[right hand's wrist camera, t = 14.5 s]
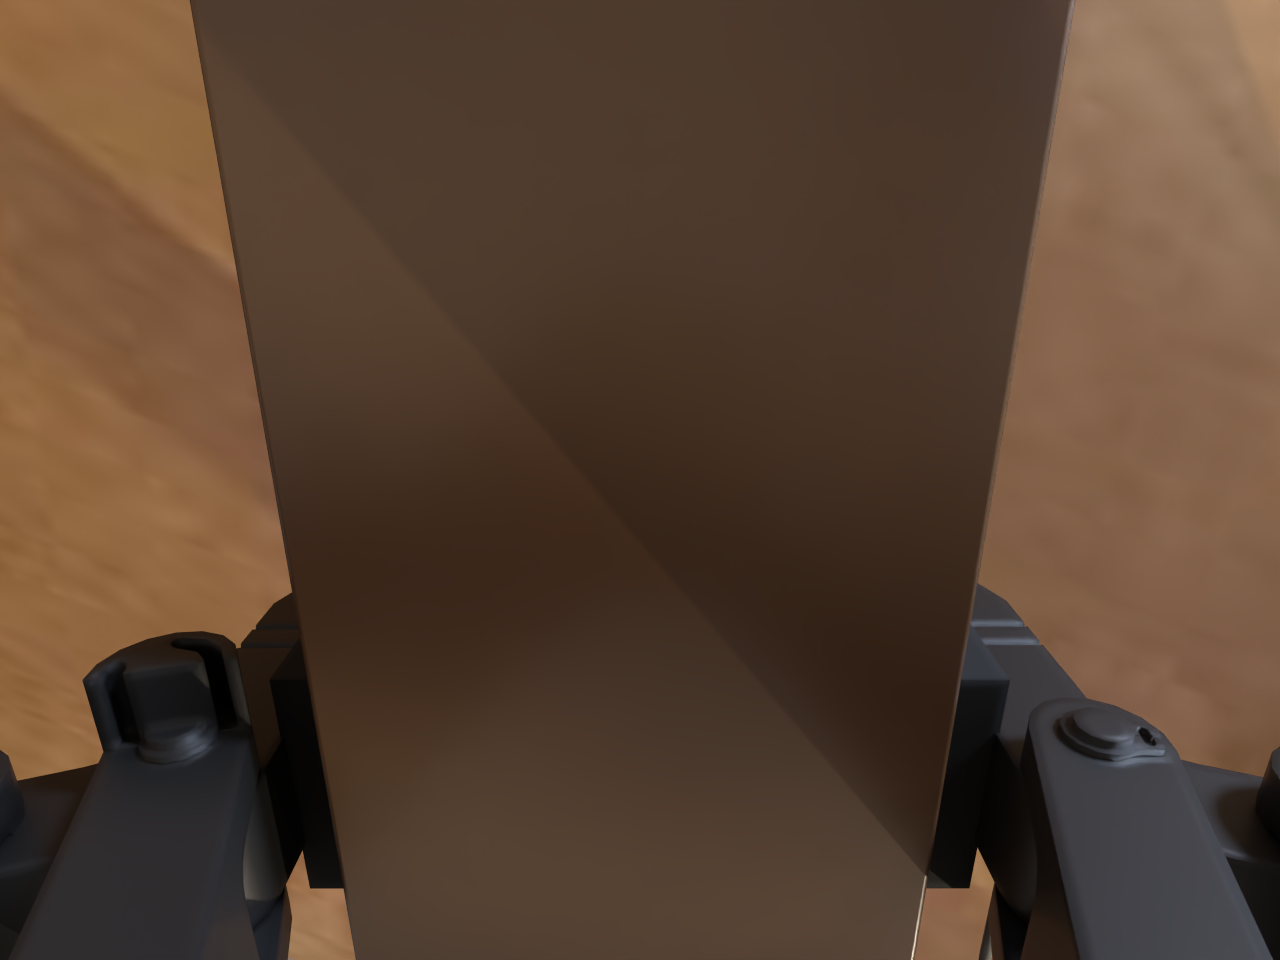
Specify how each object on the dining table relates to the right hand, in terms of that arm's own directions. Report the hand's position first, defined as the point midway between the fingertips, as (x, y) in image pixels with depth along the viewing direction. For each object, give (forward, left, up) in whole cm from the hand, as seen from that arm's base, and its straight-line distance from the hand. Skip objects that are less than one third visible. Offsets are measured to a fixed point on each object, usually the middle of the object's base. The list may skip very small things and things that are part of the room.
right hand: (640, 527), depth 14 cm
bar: (-11, -19, 0) cm, 22 cm away
